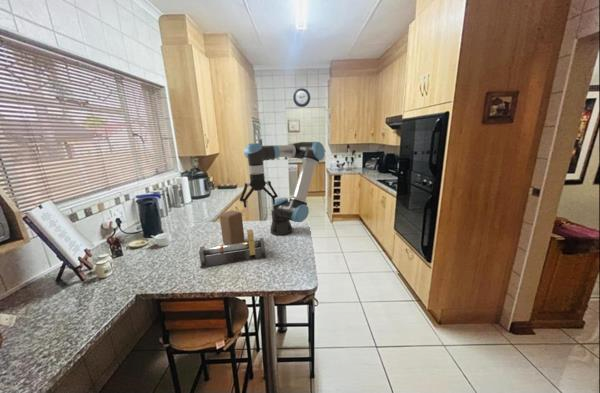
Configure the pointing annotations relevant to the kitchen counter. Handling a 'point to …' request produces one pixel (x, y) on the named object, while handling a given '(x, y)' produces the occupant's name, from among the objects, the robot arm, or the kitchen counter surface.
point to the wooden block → (232, 227)
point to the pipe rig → (232, 256)
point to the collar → (251, 242)
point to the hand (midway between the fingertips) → (260, 211)
